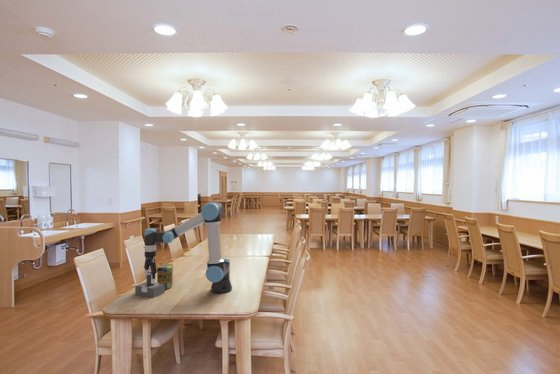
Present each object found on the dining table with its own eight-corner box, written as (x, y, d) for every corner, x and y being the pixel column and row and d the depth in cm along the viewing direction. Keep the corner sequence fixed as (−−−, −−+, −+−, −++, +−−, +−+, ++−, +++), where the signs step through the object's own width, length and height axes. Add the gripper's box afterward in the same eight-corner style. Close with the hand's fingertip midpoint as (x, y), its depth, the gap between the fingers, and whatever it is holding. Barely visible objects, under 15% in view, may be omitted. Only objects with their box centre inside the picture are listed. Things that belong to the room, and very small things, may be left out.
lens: (152, 287, 234) (152, 270, 233) (154, 289, 230) (154, 272, 230) (145, 289, 231) (145, 272, 230) (147, 291, 227) (147, 273, 227)
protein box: (156, 289, 240) (157, 268, 240) (158, 283, 255) (158, 263, 255) (171, 288, 243) (172, 267, 243) (172, 282, 258) (173, 262, 258)
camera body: (165, 292, 233) (165, 283, 233) (153, 297, 222) (153, 287, 222) (147, 289, 239) (147, 280, 239) (134, 294, 227) (134, 285, 227)
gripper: (139, 248, 238) (139, 278, 238) (150, 254, 218) (150, 286, 218) (150, 247, 242) (150, 276, 242) (161, 253, 223) (161, 284, 223)
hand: (150, 281), depth 230 cm, fingers open, 13 cm apart
